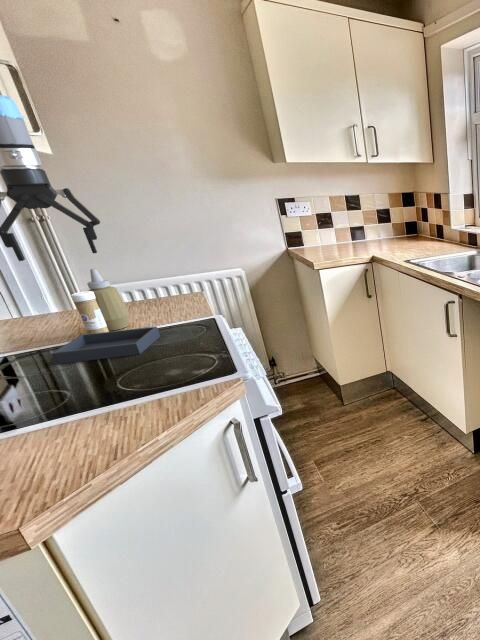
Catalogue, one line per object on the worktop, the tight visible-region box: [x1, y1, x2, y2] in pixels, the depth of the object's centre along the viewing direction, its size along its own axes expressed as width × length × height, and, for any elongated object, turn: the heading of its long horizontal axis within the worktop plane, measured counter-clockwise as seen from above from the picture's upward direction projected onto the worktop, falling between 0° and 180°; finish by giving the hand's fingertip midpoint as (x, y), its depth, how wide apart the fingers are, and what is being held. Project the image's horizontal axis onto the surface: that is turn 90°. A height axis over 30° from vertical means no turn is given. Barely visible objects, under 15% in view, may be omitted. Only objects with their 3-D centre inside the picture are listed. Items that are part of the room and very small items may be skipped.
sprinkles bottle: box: [70, 290, 110, 334], centre depth 117 cm, size 5×5×14 cm
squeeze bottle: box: [86, 268, 131, 332], centre depth 124 cm, size 8×8×18 cm
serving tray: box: [50, 326, 161, 365], centre depth 111 cm, size 17×13×3 cm
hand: (59, 256), depth 110 cm, fingers open, 13 cm apart
